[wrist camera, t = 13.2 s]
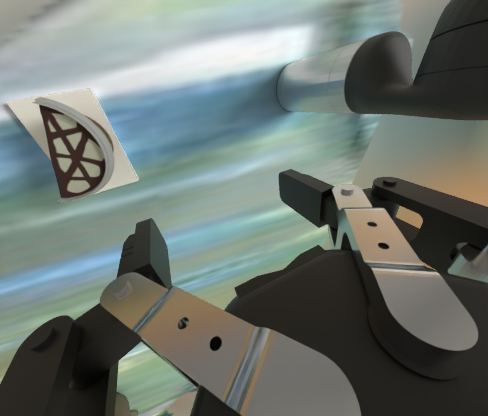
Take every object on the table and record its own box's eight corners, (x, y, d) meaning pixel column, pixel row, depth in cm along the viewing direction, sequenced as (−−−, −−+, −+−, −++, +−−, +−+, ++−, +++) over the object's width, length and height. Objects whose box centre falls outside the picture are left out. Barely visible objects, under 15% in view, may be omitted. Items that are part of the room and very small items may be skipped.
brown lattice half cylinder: (124, 182, 34) (116, 205, 26) (82, 180, 31) (58, 206, 23) (118, 108, 29) (106, 109, 21) (67, 99, 26) (30, 95, 18)
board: (92, 88, 28) (90, 88, 27) (139, 178, 36) (138, 180, 35) (11, 101, 25) (5, 101, 24) (81, 195, 33) (79, 198, 32)
